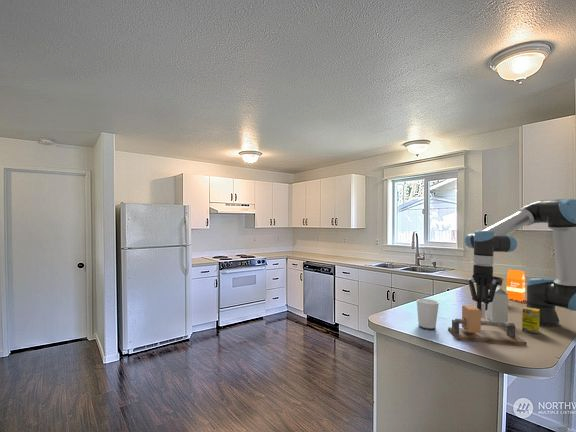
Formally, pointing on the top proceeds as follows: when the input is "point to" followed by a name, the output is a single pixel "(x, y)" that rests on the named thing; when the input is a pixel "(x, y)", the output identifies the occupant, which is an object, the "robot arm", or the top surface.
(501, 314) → the milk carton
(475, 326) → the collar
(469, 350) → the top surface
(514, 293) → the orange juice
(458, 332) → the pipe stand
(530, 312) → the supplement box
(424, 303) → the cup
